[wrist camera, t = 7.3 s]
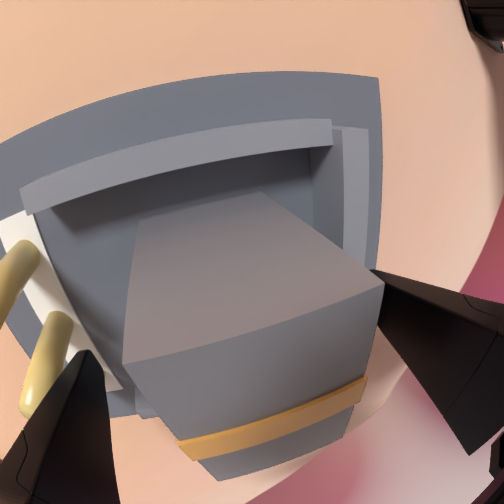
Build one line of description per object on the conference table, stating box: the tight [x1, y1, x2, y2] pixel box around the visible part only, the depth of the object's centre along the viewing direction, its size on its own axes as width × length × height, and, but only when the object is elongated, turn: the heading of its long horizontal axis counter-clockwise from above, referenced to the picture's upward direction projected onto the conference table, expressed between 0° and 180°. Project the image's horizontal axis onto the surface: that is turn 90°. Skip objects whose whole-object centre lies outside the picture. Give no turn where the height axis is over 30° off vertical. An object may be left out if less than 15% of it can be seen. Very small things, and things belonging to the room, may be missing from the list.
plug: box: [122, 191, 385, 482], centre depth 8 cm, size 4×6×6 cm
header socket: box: [0, 71, 383, 420], centre depth 8 cm, size 17×14×6 cm
